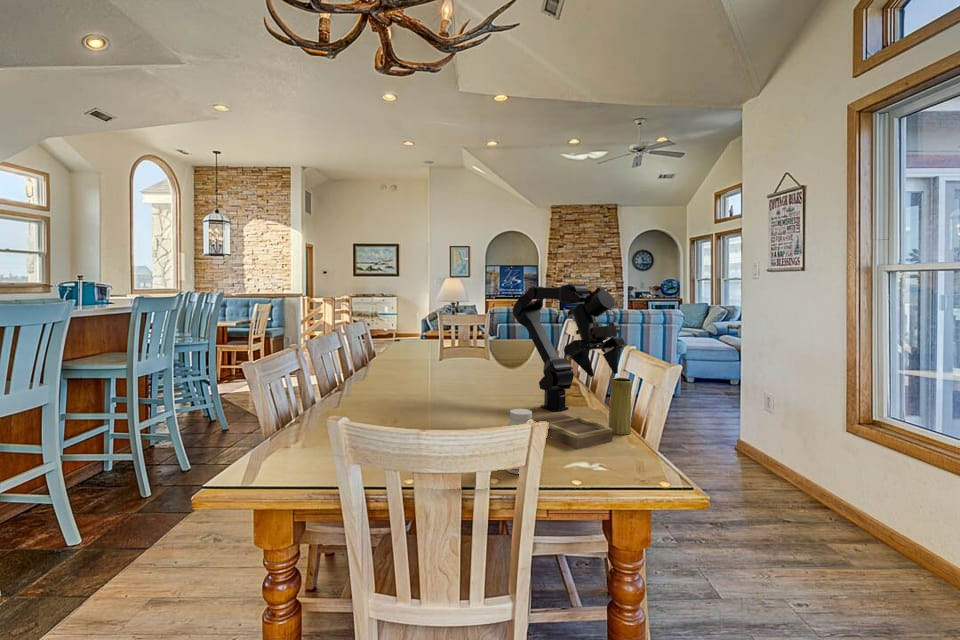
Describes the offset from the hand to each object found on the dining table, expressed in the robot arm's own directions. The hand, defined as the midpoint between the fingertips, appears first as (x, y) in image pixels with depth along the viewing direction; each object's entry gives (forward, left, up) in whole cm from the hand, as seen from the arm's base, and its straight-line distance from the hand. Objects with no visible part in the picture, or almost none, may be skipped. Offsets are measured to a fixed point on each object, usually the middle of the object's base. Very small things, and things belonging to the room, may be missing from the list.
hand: (604, 375), depth 145 cm
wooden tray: (+1, -14, -14) cm, 20 cm away
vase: (+6, 0, -15) cm, 16 cm away
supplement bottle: (+15, -40, -15) cm, 45 cm away
